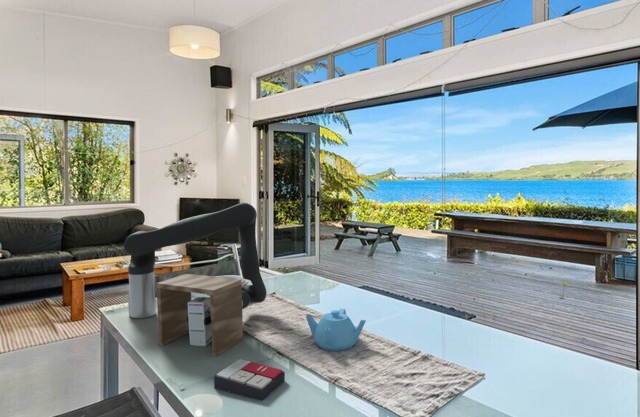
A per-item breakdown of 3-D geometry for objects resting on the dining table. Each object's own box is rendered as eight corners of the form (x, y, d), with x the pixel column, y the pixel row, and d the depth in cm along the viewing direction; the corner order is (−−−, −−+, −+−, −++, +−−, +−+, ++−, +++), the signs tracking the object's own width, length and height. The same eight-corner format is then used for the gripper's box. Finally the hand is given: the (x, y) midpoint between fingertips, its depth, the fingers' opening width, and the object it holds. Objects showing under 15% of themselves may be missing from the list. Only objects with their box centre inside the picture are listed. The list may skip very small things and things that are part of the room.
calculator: (262, 388, 101) (213, 373, 108) (262, 405, 102) (213, 389, 108) (285, 368, 111) (239, 356, 118) (285, 384, 112) (239, 370, 118)
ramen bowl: (262, 294, 192) (261, 277, 191) (225, 308, 173) (225, 289, 172) (222, 287, 205) (222, 271, 205) (185, 299, 186) (184, 281, 185)
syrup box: (205, 346, 134) (204, 302, 133) (189, 345, 136) (187, 301, 134) (213, 339, 140) (212, 297, 139) (197, 338, 141) (195, 296, 140)
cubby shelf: (159, 345, 136) (156, 283, 135) (189, 330, 149) (186, 273, 147) (216, 356, 127) (214, 290, 125) (243, 339, 139) (241, 279, 138)
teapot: (368, 347, 132) (368, 314, 131) (326, 357, 125) (326, 322, 125) (344, 331, 146) (344, 301, 145) (305, 339, 139) (304, 308, 138)
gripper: (211, 293, 153) (178, 307, 138) (244, 297, 147) (213, 312, 132) (211, 313, 153) (179, 329, 138) (244, 318, 148) (214, 335, 132)
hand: (196, 320), depth 135 cm, fingers closed on syrup box, 6 cm apart
